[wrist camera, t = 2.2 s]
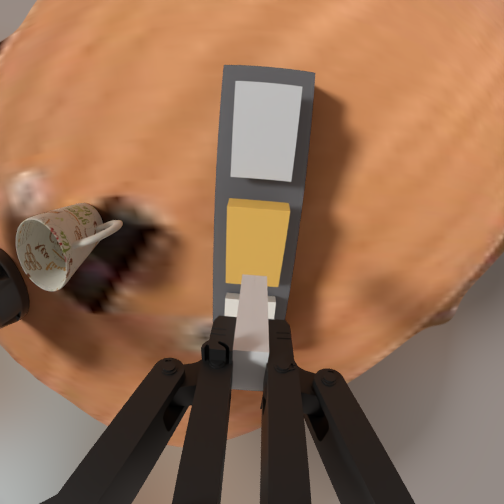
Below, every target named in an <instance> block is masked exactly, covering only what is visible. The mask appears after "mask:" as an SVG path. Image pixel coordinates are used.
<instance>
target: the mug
mask: <svg viewBox="0 0 504 504" xmlns="http://www.w3.org/2000/svg"><path fill="white" fill-rule="evenodd" d="M122 225H123V222H122V221H121V220H112V221H109V222H106V223H104V224H103V222H102V219H101V216H100V214H99V213H98V211H97V210H96V209H95V208H94V207H93V206H91V205H89V204H87V203H78V204H74V205H71V206H67V207H63V208H60V209H56V210H52V211H49V212H46V213H42V214H39V215H35V216H32V217H30V218H27V219H26V220H24V221H23V222H22V223H21V224H20V226H19V228H18V230H17V234H16V250H17V255H18V258H19V261H20V264H21V266H22V268H23V270H24V271H25V273H26V274H27V276H28V277H29V278H30V279H31V280H32V282H34V283H35V284H36V285H37V286H38V287H40V288H42V289H44V290H47V291H57V290H59V289H61V288H62V287H63V286H64V285H65V284H66V283H67V282H68V281H69V279H70V278H71V277H72V275H73V274H74V273H75V271H76V270H77V269H78V268H79V266H80V265H81V264H82V262H83V261H84V260H85V259H86V258H87V256H88V255H89V254H90V253H91V251H92V250H93V249H94V248H95V247H96V245H97V244H98V243H99V242H100V240H102V239H104V238H106V237H108V236H110V235H111V234H113V233H115V232H116V231H117V230H119V229H120V228H121V227H122ZM103 229H105V230H103Z"/></svg>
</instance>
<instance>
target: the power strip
mask: <svg viewBox="0 0 504 504" xmlns="http://www.w3.org/2000/svg"><path fill="white" fill-rule="evenodd" d="M236 81H250V82H265V83H276V84H285V85H294V86H301V87H302V96H301V106H300V115H299V123H298V132H297V140H296V148H295V157H294V164H293V172H292V180H291V182H288V181H278V180H267V179H255V178H241V177H231V155H232V134H233V115H234V98H235V82H236ZM314 84H315V73H313V72H307V71H300V70H292V69H284V68H274V67H262V66H245V65H224V69H223V80H222V92H221V104H220V118H219V132H218V148H217V166H216V188H215V214H214V252H213V322H214V320H215V319H216V318H217V317H218V316H219V315H220V316H224V314H225V297H226V294H227V293H238V294H240V289H241V284H231V283H226V231H227V205H228V201H229V198H234V199H248V200H260V201H272V202H283V203H289V207H290V217H289V223H288V230H287V236H286V243H285V249H284V255H283V261H282V267H281V273H280V279H279V285H278V287H269V286H267V293H268V296H275V299H276V307H275V315H274V319H279V320H285V316H286V310H287V304H288V298H289V292H290V286H291V280H292V274H293V267H294V261H295V254H296V247H297V241H298V234H299V226H300V219H301V211H302V204H303V196H304V188H305V179H306V171H307V162H308V152H309V142H310V132H311V121H312V110H313V98H314Z"/></svg>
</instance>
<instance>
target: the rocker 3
mask: <svg viewBox="0 0 504 504" xmlns="http://www.w3.org/2000/svg"><path fill="white" fill-rule="evenodd" d="M239 296H240V294H238V293H227V294H226V297H225V314H224V316H231V317H237V312H238V304H239ZM275 307H276V299H275V296H268V319H274V315H275Z"/></svg>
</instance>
